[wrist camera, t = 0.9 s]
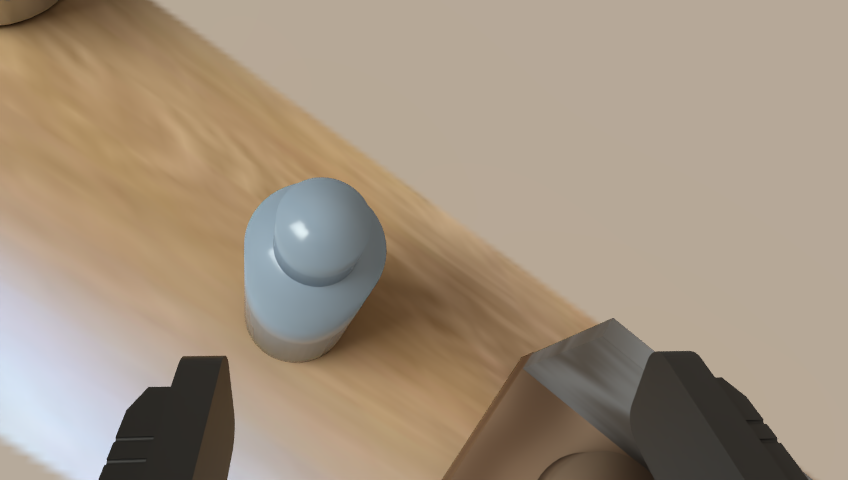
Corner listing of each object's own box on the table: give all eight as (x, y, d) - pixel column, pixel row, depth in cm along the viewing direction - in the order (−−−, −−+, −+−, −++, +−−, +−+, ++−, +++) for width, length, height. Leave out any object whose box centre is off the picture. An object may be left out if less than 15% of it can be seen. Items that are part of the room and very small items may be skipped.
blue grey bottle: (222, 317, 31) (208, 224, 19) (292, 245, 33) (315, 124, 22) (302, 383, 30) (335, 328, 19) (367, 306, 33) (429, 217, 22)
